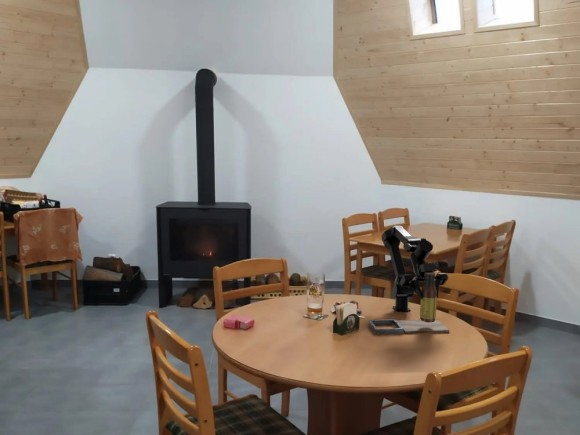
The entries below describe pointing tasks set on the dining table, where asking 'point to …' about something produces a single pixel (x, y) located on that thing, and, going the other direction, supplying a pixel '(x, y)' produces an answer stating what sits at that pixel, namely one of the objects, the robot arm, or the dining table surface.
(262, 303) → the dining table surface
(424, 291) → the sauce bottle
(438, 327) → the brown flat slab
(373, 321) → the grey square frame
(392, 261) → the robot arm
